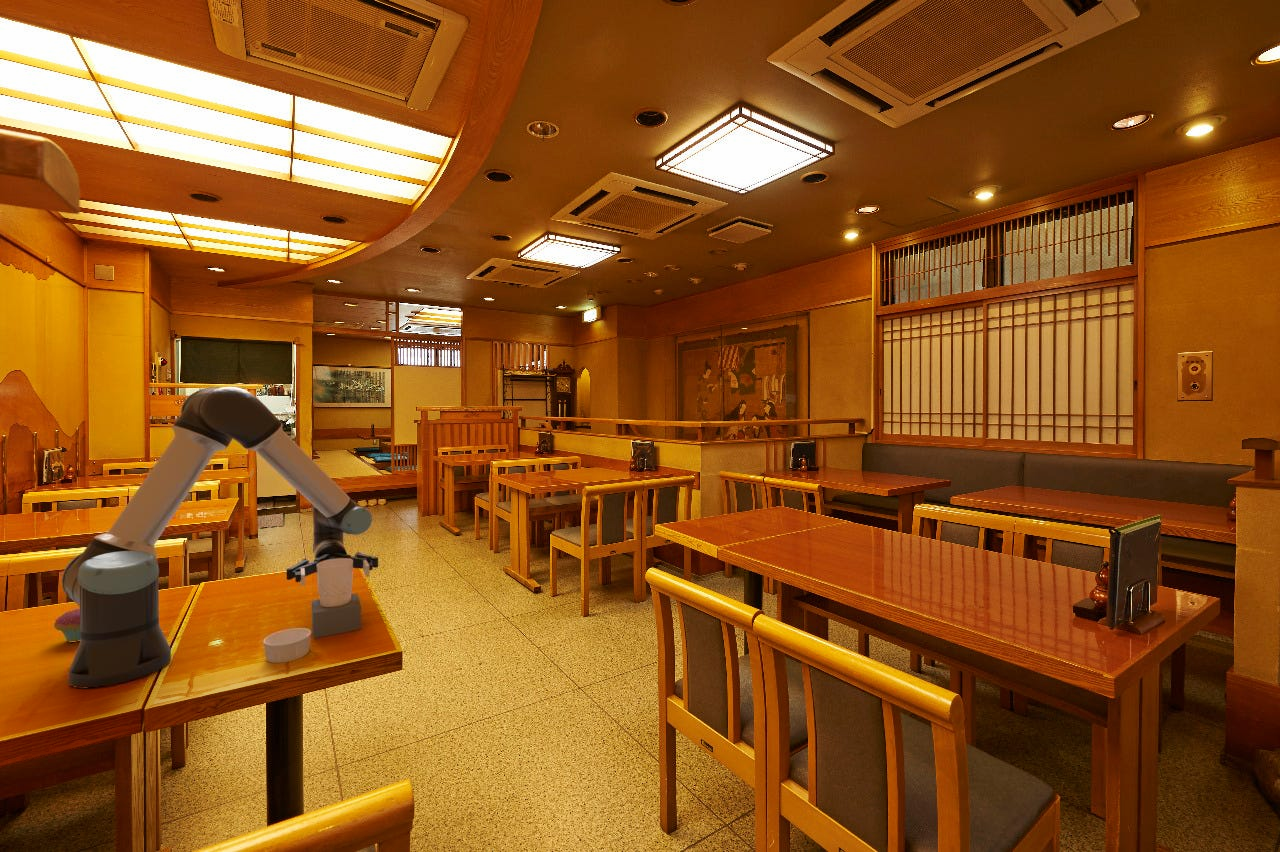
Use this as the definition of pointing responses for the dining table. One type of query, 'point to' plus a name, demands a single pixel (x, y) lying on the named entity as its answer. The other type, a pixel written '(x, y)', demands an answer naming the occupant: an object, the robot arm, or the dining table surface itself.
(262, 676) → the dining table surface
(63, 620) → the cupcake
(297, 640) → the ramekin
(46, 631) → the dining table surface
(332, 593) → the white cup
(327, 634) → the gray rectangular block
